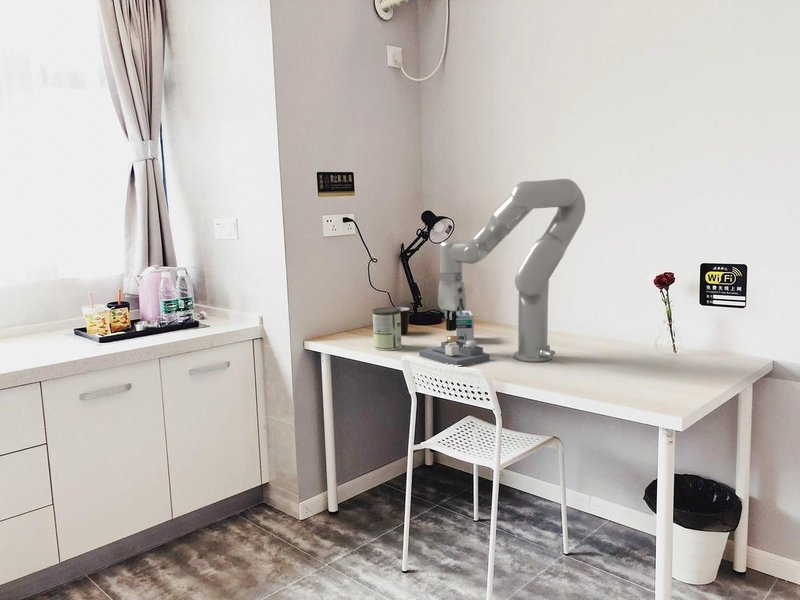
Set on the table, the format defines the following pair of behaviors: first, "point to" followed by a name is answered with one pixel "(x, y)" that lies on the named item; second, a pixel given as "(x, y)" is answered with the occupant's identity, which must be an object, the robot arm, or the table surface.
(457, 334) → the light bulb box
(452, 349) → the slider
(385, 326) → the coffee can
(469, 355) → the panel
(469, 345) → the grey button
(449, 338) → the copper button
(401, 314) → the coffee mug
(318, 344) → the table surface
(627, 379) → the table surface
